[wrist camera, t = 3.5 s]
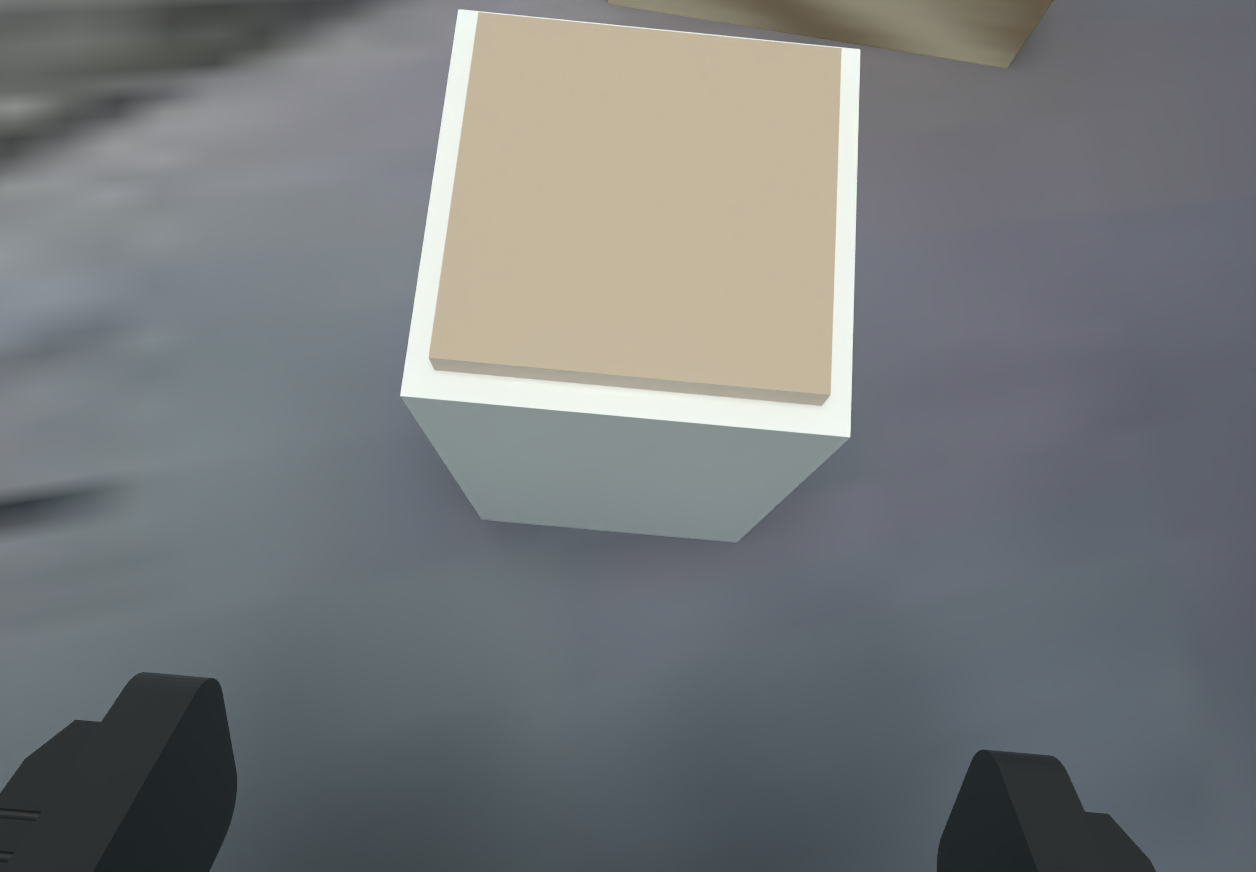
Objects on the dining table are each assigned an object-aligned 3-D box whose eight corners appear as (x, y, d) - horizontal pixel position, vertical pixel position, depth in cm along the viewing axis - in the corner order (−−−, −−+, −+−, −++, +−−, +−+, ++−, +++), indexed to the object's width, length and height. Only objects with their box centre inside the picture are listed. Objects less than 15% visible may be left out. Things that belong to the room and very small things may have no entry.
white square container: (481, 519, 22) (392, 384, 12) (511, 282, 24) (453, -15, 14) (736, 542, 22) (861, 427, 12) (750, 305, 24) (870, 26, 14)
